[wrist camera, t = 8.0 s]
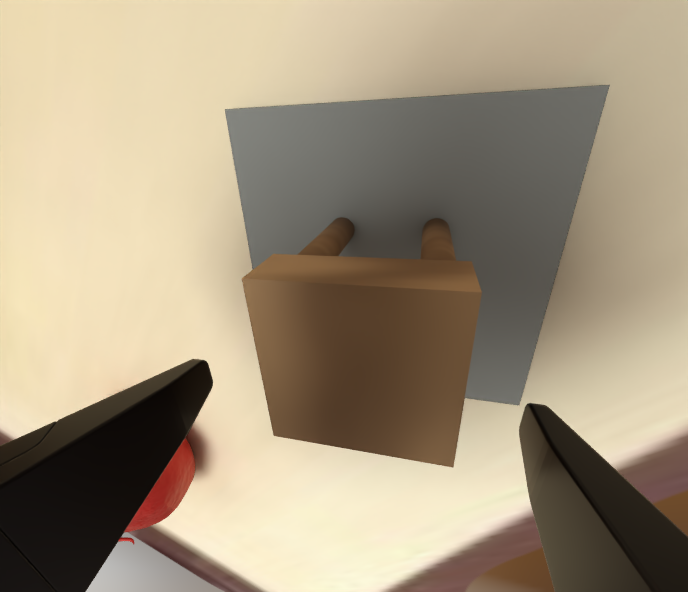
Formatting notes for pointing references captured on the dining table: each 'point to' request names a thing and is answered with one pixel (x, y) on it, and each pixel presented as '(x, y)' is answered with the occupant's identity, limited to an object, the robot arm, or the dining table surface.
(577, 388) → the dining table surface
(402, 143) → the mat
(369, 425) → the stool
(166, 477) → the pomegranate
